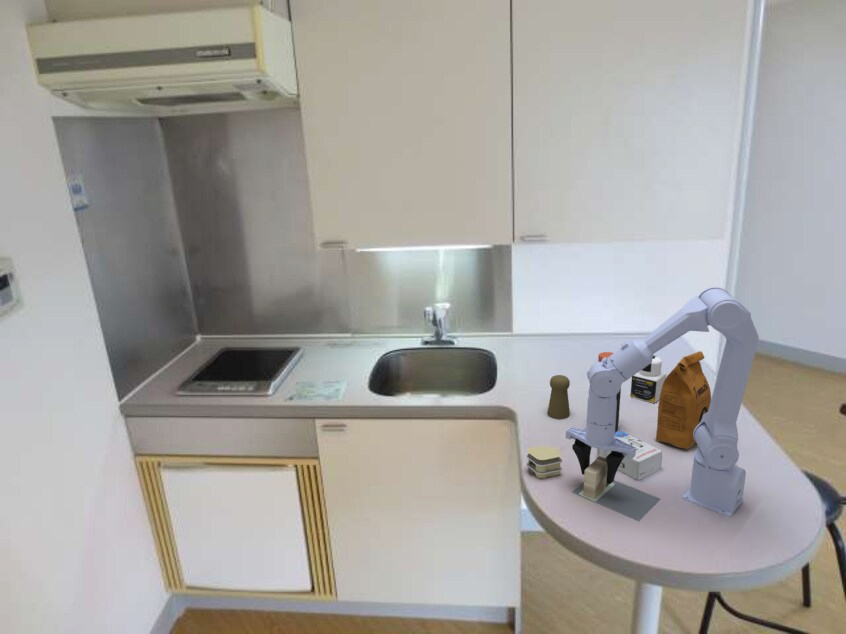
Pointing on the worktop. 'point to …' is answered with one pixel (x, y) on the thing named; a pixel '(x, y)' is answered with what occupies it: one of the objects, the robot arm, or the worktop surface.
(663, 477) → the worktop surface
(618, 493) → the rubber mat
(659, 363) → the medicine bottle
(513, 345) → the worktop surface
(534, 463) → the beige stacked block
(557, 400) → the olive pawn
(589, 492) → the card case
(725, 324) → the robot arm
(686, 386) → the coffee package
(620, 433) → the ink box
